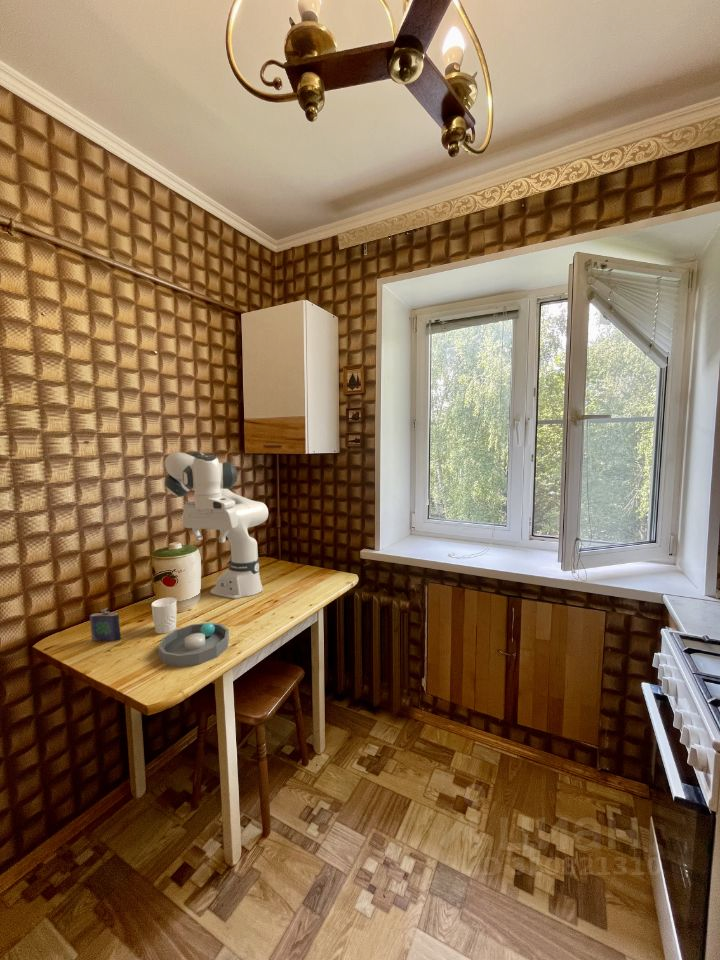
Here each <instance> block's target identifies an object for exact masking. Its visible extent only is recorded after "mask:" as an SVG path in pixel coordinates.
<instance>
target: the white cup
mask: <svg viewBox="0 0 720 960" xmlns="http://www.w3.org/2000/svg"><path fill="white" fill-rule="evenodd" d="M177 604H178V602H177V598H175V597H163V598H162V597H161V598H159V599H156V600H154V601H152V603H151V613H152V621H153V625H154V632H155V633H156V634H160V635H163V634H169V633H171V632H173V631H174V630H177V616H178V615H177V613H178V609H177V606H178V605H177Z"/></svg>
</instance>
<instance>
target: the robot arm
mask: <svg viewBox="0 0 720 960" xmlns="http://www.w3.org/2000/svg"><path fill="white" fill-rule="evenodd" d="M164 467H165V470H166V472H167V473H168V475H166V476H165V477H166V478H165V481H164V483H165V484H164V487H166V490H167V491H168V492H169V493H170V494H171V495H173V496H176V497H184V496H186V495H187V494H188V493H189V492H190V491H194V493H193V496H194V501H189V500H188V501H186V502H185V503H184V504H183V512H182V526H183V528H185V529H192V533H193V535H194V536H195V541H196V542H201V541H203V539H204V538H203V537H204V536H203V534H201V533H200V530H218V531H220V533H221V536H219V537H218V542H219V543H221V544H222V543H225V542H226V540H227V539H228V542H229V545H230V546H229V547H230V554H231V555H230V556H231V559H230V560H229V561H228V562H226V566H228V568H227V569H225V571H224V572H222V573H221V574H220V575H218V576H217V578H216V582H215V586H213V587H212V588H211V589H210V592H209V593H210V594H211V595H215V596H220V597H224V598H228V599H232V600H236V599H240V598H244V597H251V596H254V595H257V594H259V593H260V592H262V591H263V590H264V587H263V584H262V581H261V580H262V579H261V575H260V558H259V553H258V552H259V551H258V550H259V549H258V542H257V540H256V538H254V537H252V536H250V535H249V532H248V529H249V528H252V527H256V526H259V525H261V524H263V523H265V522H266V521H267V520H268V517H269V509H268V507H267V506H268V505H266V504H265V503H264V502H262V501H257V500H252V499H249V498H247V497H244V496H241V495H239V494H237V493H235V492H233V491H232V490H230V489H232V488H233V487H234V486H235V484H236V483H237V481H238V470H237V468H236V467H235V466H234V465H233V464H232V463H231V462H230V461H226V462H225V461H224V462H219V458H218V457H217V456H216V455H213V454H204V453H202V452H199V451H194V452H192V453H191V454H188V453H185V452H178V451H177V452H172V453H170V454H168V456H166V458H165V460H164ZM226 537H227V539H226Z"/></svg>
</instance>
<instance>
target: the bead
mask: <svg viewBox="0 0 720 960" xmlns="http://www.w3.org/2000/svg"><path fill="white" fill-rule="evenodd" d="M204 623H205V624H203V625H202V627H201V629H200V632H201V633H202V634H204V635H205V637H209V636H211V635H212V634H213V633H214V631H215V627H214V625H213V624H212V623H213V622H204Z"/></svg>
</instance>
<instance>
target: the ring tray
mask: <svg viewBox="0 0 720 960" xmlns="http://www.w3.org/2000/svg"><path fill="white" fill-rule="evenodd" d="M205 623H206V622H201V623H193V624H189V625H187V626H183V627H180V628H176V629H174V630H173V631H171V632H169V633H167V635H165V636H163V637H162V639H161V641H160V642H159V644H158V646H157V649H158V658H159V660H160V661H161V662H162V663H163V664H164V665H165V666H170V667H175V668H184V667H191V666H197V665H199V666H200V665H202V664H204V663H207V662H209V661H211V660H212V661H213V660H214V659H216V658H218V657H219V656H221V655H222V654H223V653H224V652H225V651H226V650H227V649H228V648H229V642H230V629H229V628H227V627H226V626H225V625H224V624H221V623H215V622H211V623H212V624H213V625H214V627H215V631H214V633H213V634H212V635H211V636H209V637H205V635H204V634H202V633H201V632H200V629H201V627H202V625H203V624H205Z"/></svg>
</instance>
